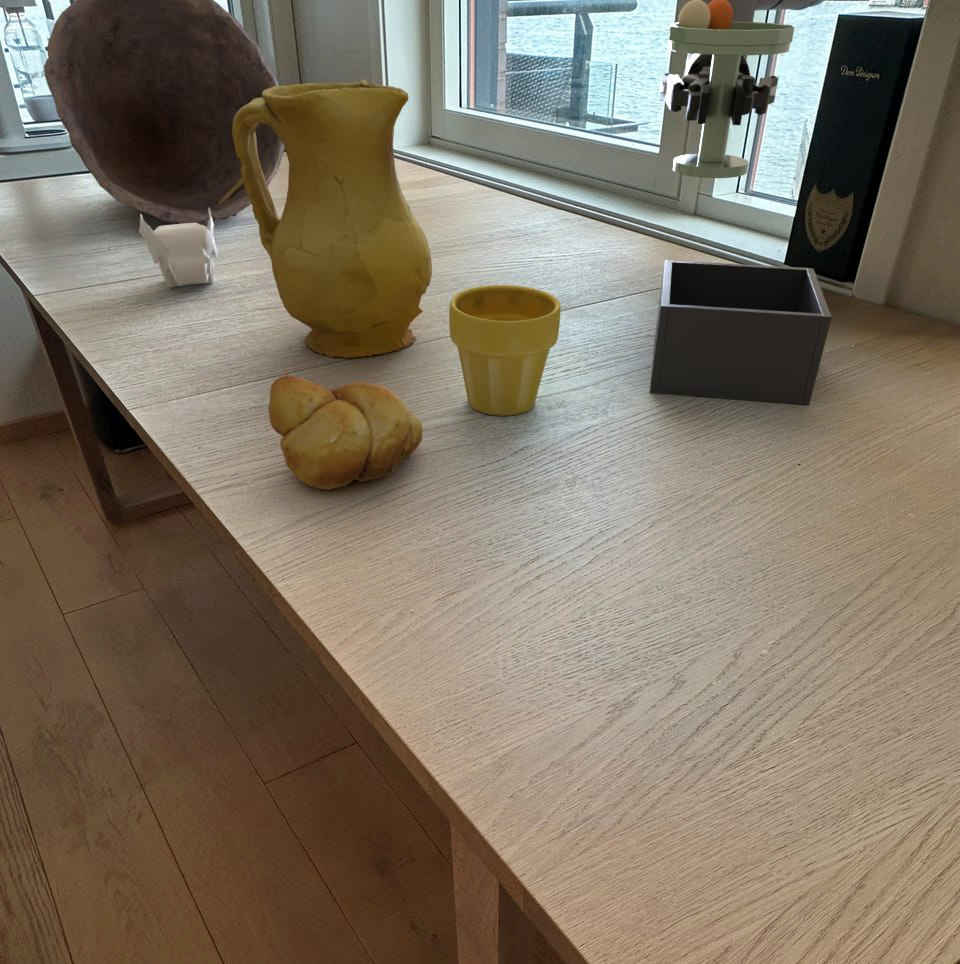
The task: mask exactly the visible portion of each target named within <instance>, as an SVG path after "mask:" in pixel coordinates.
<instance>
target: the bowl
mask: <svg viewBox="0 0 960 964" xmlns="http://www.w3.org/2000/svg"><path fill="white" fill-rule="evenodd" d="M50 33H51V34H50V36H49V39H48V43H47V45H46V51H47V59H46V61H45V63H44V65H43V70H44V76H45V81H46V83H47V86H48V89H49V92H50V94H51V96H52V98H53V102H54V105H55V110H56V114H57V116H58V118H59V121H60V123H61V124H62V125H63V126H64V128H65V130H66V131H67V133H68V137H69V141H70V145H71V146H72V148H73V149H74V151H75V152H76V153H77V154H78V156H79V157H80V159H81V161H82V162H83V164H84V166H85V168H86V169H87V170H88V171H89V173H90V174H91V176H92V177H93V178H94V179H95V181H96V182H97V184H98V185H99V187H100V188H102V189H103V190H104V191H105V192H106V193H108V194H109V195H110V196H111V197H112V198H113V199H114V200H116V202H118V203H121V204H124V205H127V206H130V207H131V208H133V209H134V210H136V211H138V212H141V213H144V214H147V215H149V216H152V217H154V218H157V219H159V220H161V221H163V222H170V223H177V224H185V223H198V224H199V223H204V224H206V223H208V221H209V218H210V217H209V212H208V207H209V208H210V211H211V217H212V220H213V221H215V220H227V219H229V218H232V217H231V216H235V217H237V215H238V214H239V213H241V212H242V211H244V210H245V209H247V208H248V207H251V206H252V203H251V198H250V197H248V195H247V194H246V190H245V185H244V181H243V178H242V174H241V169H240V168H241V166H242V164H241V161H240V159H239V158H237V154H236V149H235V145H234V140H233V135H232V128H233V119H234V117H235V115H236V113H237V112H238V111H239V110H240V109H241V108H242V107H244V106H245V105H247V104H249V103H250V102H251V101H252V100H253V99H256V98H262V92H263V91H264V90H265V89H269V88H272V87H275V86H280V84H279V83H278V81H277V80H276V78H275V75H274V72H273V70H272V68H271V66H270V64H269V63H268V62H267V60H266V59H265V57H264V54H263V52H262V50H261V49H260V47H259V46H258V45H257V43H256V42H255V40H254V39H253V38H251V37H250V35H249V34H248V32H247V30H246V29H245V28H244V27H243V25H242V24H241V23H240V22H239V20H237V18H236V17H235V16H234V15H233V14H232V13H230V12H229V11H227V10H226V9H225V8H223V6H221V4H219V3H218V2H216V1H215V0H73V1H72V3H71V4H70V5H69V6H68V7H66V9H64V10H63V11H62V12H61V13H60V15H59V16H58V17H57V19H56V20H55V23H54V26H53V28H52V30H51V32H50ZM255 134H256V140H257V152H258V158H259V162H260V165H261V168H262V172H263V175H264V177H265V179H266V183H267V186H268V187H269V185H270V183H271V182H272V180H273V179H274V178H275V177H276V175H277V174H278V171H279V168H280V165H281V162H282V158H283V155H284V151H285V146H284V144H283V143H282V142H281V140H280V139H279V137H278V136H277V134H276V133H275V132H274V130H273V129H272V127H271V126H269V125H265V124H260V123H259V125H258V127H257V128H256V130H255Z"/></svg>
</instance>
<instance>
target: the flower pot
mask: <svg viewBox="0 0 960 964" xmlns="http://www.w3.org/2000/svg"><path fill="white" fill-rule="evenodd" d="M561 307H562V306H561V302H560V300H559V299H558V298H557V297H556V296H554V295H553V294H552V293H549V292H547V291H544V290H541V289H537V288H533V287H529V286H521V285H515V284H514V285H512V284H493V285H492V284H491V285H482V286H481V285H479V286H474V287H471V288H467V289H464V290H461V291H459V292H458V293H456V294H454V296H452V297H451V299H450V302H449V307H448V308H449V310H448V312H449V313H448V317H449V318H448V321H449V322H448V323H449V324H448V325H449V337H450V339H451V342H452V343H453V344H454V345H455V346H456V347H457V351H458V356H459V362H460V368H461V371H462V377H463V381H464V387H465V392H466V397H467V403H468V405H469V406H470V407H471V408H472V409H473V410H475V411H477V412H479V413H482V414H484V415H485V414H486V415H490V416H498V417H506V416H509V417H510V416H516V415H521V414H524V413H526V412H528V411H530V410H531V409H532V408H533V407H534V406H535V404H536V400H537V396H538V393H539V389H540V385H541V382H542V378H543V374H544V371H545V367H546V363H547V361H548V358H549V357H548V356H549V353H550V350H551V348H553V347H554V346H555V345H556V344H557V342H558V339H559V334H560V333H559V332H560V326H561V325H560V324H561V312H562V311H561V309H562V308H561Z"/></svg>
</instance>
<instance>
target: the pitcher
mask: <svg viewBox="0 0 960 964" xmlns="http://www.w3.org/2000/svg"><path fill="white" fill-rule="evenodd" d="M408 101H409V93H408V92H407V91H405V90H404V89H403V88H401V87H396V86H393V85H381V84H377V83H370V82H367V80H366V79H361V80H360V81H353V82H348V81H347V82H308V83H296V84H291V85H289V84H288V85H287V84H286V85H279V86H275V87H272V88H269V89H265V90H264V91H263V92H262V98H256V99H253V100H252V101H251V102H250V103H249V104H247V105H245V106H244V107H242V108H241V109H240V110H239V111H238V112H237V113H236V115H235V117H234V119H233V128H232V135H233V140H234V145H235V149H236V154H237V158H239V159H240V161H241V164H242V166H241V168H240V169H241V174H242V178H243V181H244V185H245V190H246V194H247V195H248V197H250V198H251V203H252V204H251V206H252V207H251V208H252V213H253V216H254V219H255V220H256V221H257V224H258V228H259V229H258V233H259V236H260V243H261V245H262V247H263V248H264V250H265V251H266V253H267V254H268V257H269V258H270V261H271V271H272V274H273V278H274V281H275V284H276V288H277V291H278V294H279V298H280V300H281V302H282V305H283V307H284V309H285V310H286V311H287V313H288V314H289V316H290V318H291V317H292V318H293V319H295V320H297V321H298V322H300V323H302V324H303V325H305V326H307V327H309V328H310V330H309V332H308V334H306V336H305V337H304V338H303V339H304V341H305V345H306V346H307V347H308V348H309V349H310V350H312V351H314V353H317V354H319V355H325V356H326V357H327V358H338V357H339V358H344V359H349V358H350V359H353V358H354V359H355V358H360V357H363V358H364V357H366V356H368V357H372V356H373V355H383V354H387V353H389V352H390V353H392V352H394V351H400V350H401V349H404V348H407V347H409V346H410V345H411V344H413V343H414V342H415V340H416V336H415V335H414V333H413V329H411V328H410V324H412V323H413V321H414V320H415V319H416V318H418V317H419V316H420V315H421V314H422V313H423V312H424V311H423V310H422V309H421V307H419V306H420V303H421V300H422V296H423V295H424V294H426V292H427V289H428V287H429V286H430V283H431V281H432V275H433V264H432V257H431V256H432V255H431V248H430V246H429V242H428V239H427V236H426V234H425V232H424V230H423V229H422V226H421V225H420V224H419V222H418V221H417V219H416V217H415V216H414V214H413V212H412V211H411V210H412V209H411V207H410V205H409V204H408V202H407V199H406V197H405V195H404V193H403V192H402V189H401V185H400V182H399V180H398V179H399V178H398V175H397V171H396V163H395V162H396V161H395V152H394V136H395V135H394V134H395V125H396V123H397V119H398V118H399V116H400V113H402V110H403V107H404V106H406V104H407V102H408ZM259 123H260V124H265V125H269V126H271V127H272V129H273V130H274V132H275V133H276V134H277V136H278V137H279V139H280V140H281V142H282V143H283V144H284V146H285V148H284V151H285V154H286V158H287V160H288V179H287V180H288V181H287V192H286V200H285V203H284V208H283V210H282V214H281V218H279V215H278V211H277V209H276V207H275V203H274V201H273V197H272V194H271V192H270V189H269V185H268V186H267V183H266V179H265V177H264V175H263V172H262V168H261V165H260V162H259V158H258V152H257V140H256V134H255V130H256V128H257V127H258V125H259Z"/></svg>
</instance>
